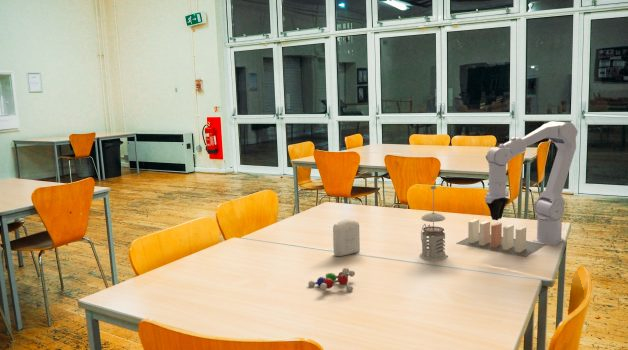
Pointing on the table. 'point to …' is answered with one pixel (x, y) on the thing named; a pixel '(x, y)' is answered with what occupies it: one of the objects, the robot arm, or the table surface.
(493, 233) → the terracotta domino
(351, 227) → the photo printer
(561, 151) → the robot arm
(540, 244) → the mat
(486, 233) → the domino
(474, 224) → the domino
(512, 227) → the domino
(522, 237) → the domino
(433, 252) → the french press
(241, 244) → the table surface
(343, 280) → the molecule model
